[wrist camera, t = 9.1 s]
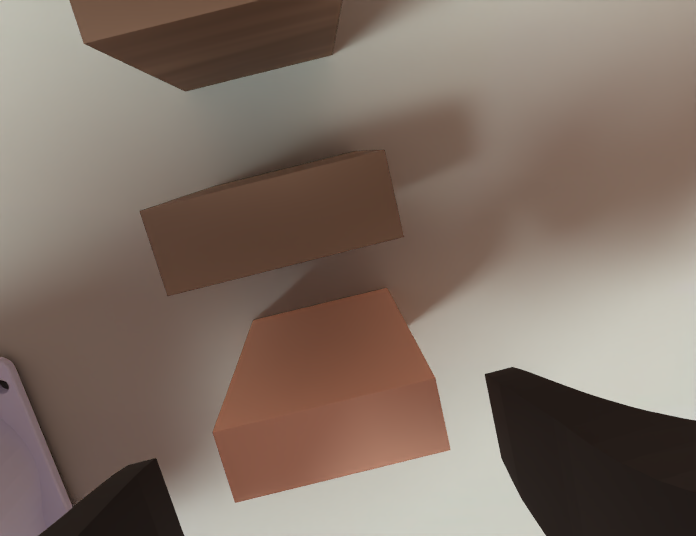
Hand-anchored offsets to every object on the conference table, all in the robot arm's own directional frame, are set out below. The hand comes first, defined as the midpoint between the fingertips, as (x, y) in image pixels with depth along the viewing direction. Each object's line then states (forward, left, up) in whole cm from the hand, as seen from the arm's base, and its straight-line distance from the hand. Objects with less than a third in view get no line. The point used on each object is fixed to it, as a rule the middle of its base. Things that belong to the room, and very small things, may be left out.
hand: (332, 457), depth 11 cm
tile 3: (+10, 0, -9) cm, 13 cm away
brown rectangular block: (+5, 0, -9) cm, 10 cm away
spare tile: (0, 0, -9) cm, 9 cm away
